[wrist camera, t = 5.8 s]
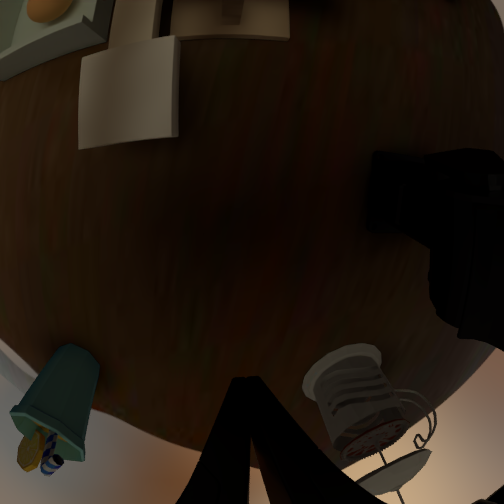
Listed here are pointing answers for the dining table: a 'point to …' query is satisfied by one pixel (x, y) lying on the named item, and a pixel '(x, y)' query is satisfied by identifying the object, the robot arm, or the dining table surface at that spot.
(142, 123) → the lever
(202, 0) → the stand
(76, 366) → the cup
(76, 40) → the tray
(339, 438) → the french press
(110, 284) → the dining table surface
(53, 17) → the ball
